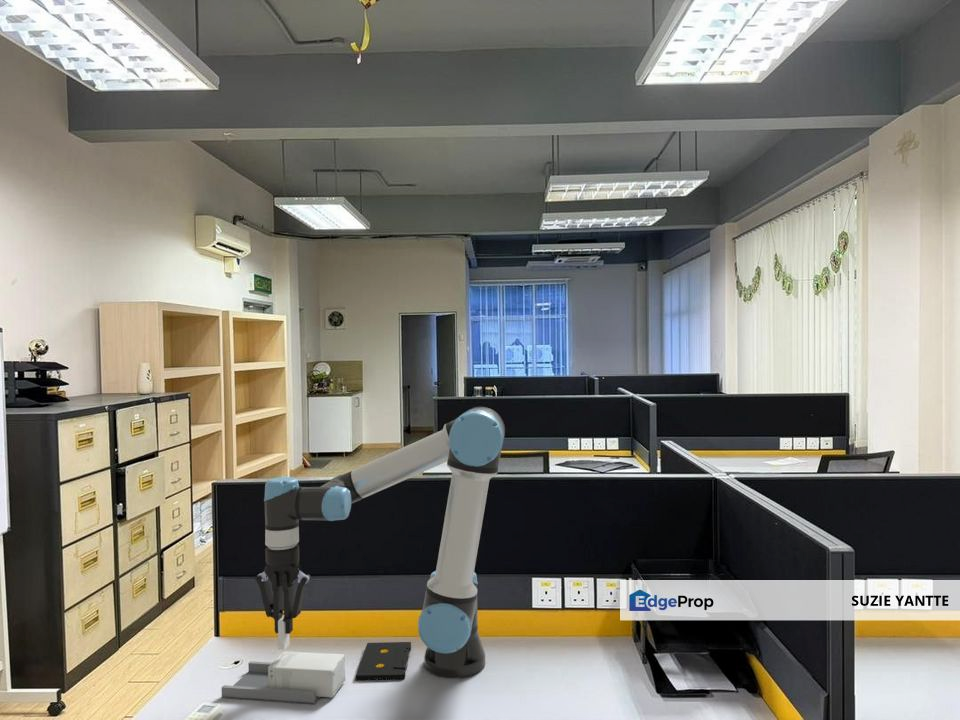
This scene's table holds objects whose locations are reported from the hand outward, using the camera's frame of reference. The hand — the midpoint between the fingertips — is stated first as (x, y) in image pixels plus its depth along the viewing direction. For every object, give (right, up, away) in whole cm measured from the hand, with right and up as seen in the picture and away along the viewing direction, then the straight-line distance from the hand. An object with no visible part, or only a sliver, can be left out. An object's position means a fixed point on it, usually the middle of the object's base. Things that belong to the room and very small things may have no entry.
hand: (284, 646), depth 154 cm
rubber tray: (-1, -9, 0) cm, 9 cm away
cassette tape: (+22, -10, +12) cm, 27 cm away
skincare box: (-2, -6, 0) cm, 6 cm away
